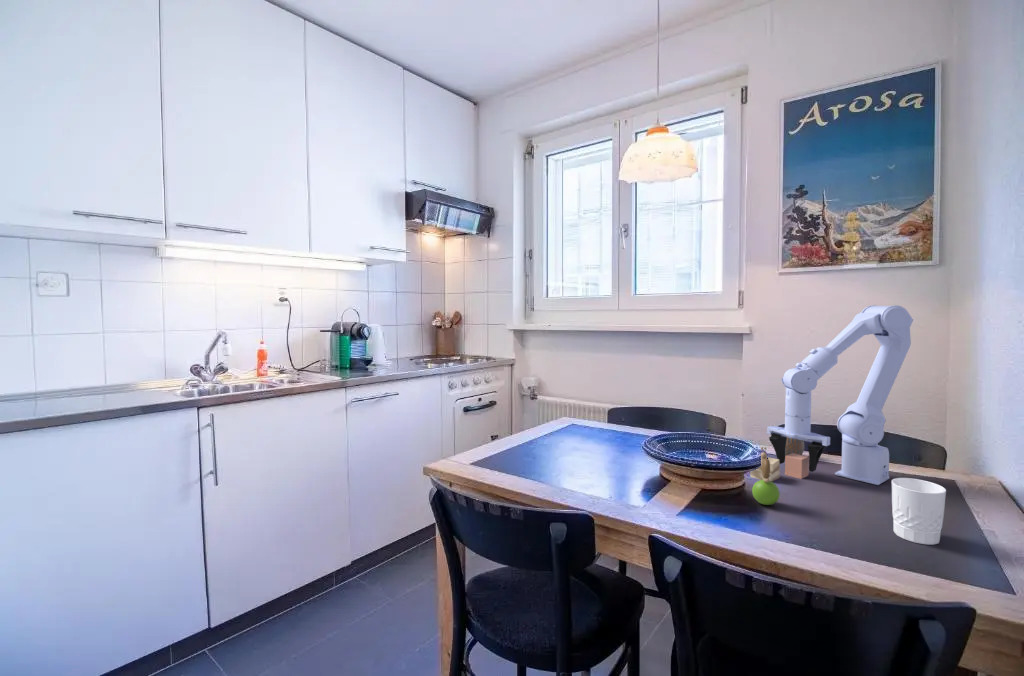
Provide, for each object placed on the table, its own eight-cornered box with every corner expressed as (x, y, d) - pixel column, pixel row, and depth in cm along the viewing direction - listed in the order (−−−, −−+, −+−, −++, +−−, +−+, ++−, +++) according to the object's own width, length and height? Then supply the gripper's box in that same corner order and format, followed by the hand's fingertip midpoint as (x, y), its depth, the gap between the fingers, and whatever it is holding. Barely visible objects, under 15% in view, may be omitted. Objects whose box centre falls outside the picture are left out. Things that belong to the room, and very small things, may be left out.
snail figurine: (775, 499, 110) (776, 447, 109) (781, 510, 103) (782, 456, 103) (749, 496, 111) (750, 445, 111) (753, 507, 105) (754, 454, 104)
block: (808, 475, 124) (808, 456, 124) (801, 479, 122) (801, 459, 121) (792, 471, 127) (792, 453, 127) (784, 474, 125) (785, 456, 125)
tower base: (779, 479, 123) (779, 469, 122) (769, 483, 120) (769, 474, 120) (760, 473, 127) (760, 464, 127) (750, 478, 124) (750, 468, 124)
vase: (796, 453, 142) (797, 424, 142) (808, 460, 135) (809, 430, 135) (772, 453, 143) (773, 424, 142) (783, 460, 136) (783, 430, 135)
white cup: (879, 528, 95) (880, 478, 94) (916, 525, 95) (917, 476, 95) (916, 548, 87) (918, 494, 86) (956, 545, 87) (958, 492, 87)
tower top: (779, 469, 123) (779, 459, 123) (772, 474, 120) (772, 464, 119) (758, 464, 127) (758, 455, 126) (751, 469, 123) (751, 459, 123)
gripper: (761, 412, 127) (760, 462, 128) (821, 422, 115) (820, 477, 116) (774, 408, 131) (773, 457, 132) (834, 418, 119) (832, 471, 120)
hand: (796, 466), depth 124 cm, fingers open, 7 cm apart
